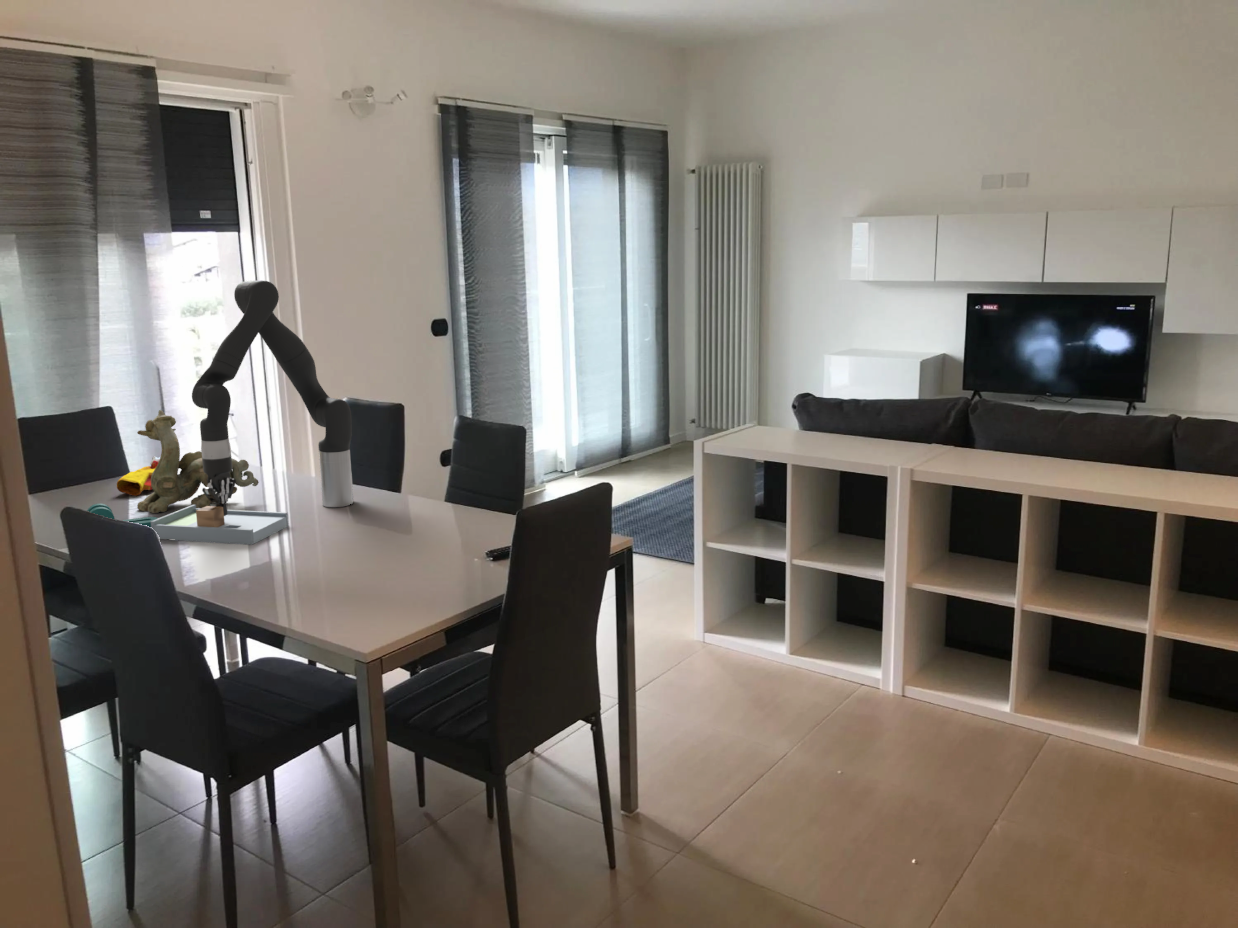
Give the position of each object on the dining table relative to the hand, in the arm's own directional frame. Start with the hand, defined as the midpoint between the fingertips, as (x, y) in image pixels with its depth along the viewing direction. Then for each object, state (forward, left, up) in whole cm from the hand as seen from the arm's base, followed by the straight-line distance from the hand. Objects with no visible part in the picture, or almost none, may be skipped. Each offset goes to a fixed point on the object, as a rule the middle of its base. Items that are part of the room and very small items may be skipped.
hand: (222, 515), depth 277 cm
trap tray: (+1, 0, -5) cm, 5 cm away
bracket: (+3, -30, -5) cm, 30 cm away
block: (+5, 0, -2) cm, 5 cm away
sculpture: (-26, -26, -5) cm, 38 cm away
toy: (-48, -55, -5) cm, 73 cm away
